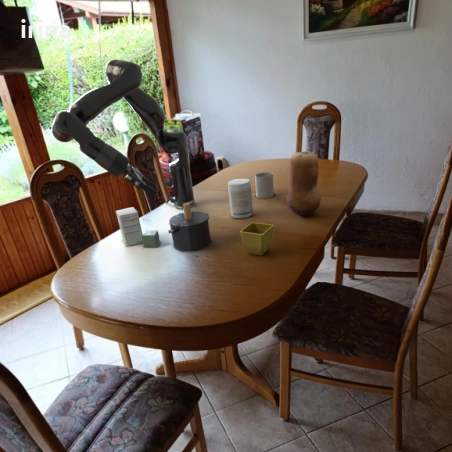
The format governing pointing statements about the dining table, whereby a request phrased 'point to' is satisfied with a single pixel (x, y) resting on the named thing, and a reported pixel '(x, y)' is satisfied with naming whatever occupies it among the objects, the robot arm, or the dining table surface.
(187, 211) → the lid
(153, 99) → the robot arm
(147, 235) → the block
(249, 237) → the flower pot
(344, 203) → the dining table surface
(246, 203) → the supplement tub
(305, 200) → the butternut squash
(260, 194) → the cup
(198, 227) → the pot
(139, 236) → the white packaging box
